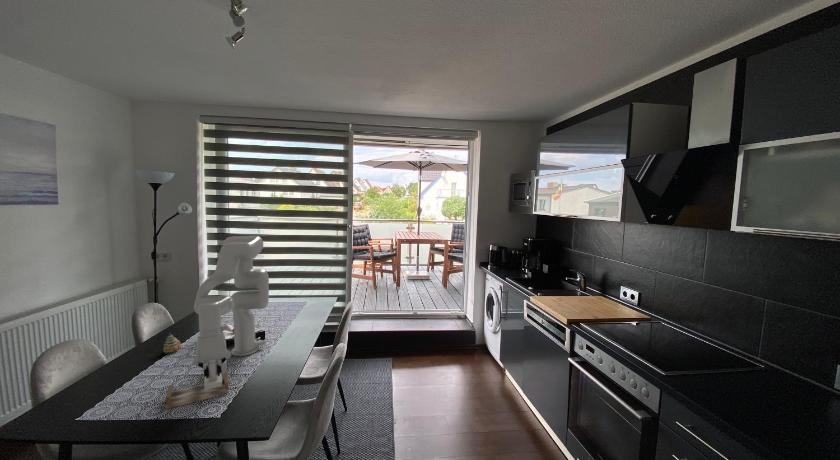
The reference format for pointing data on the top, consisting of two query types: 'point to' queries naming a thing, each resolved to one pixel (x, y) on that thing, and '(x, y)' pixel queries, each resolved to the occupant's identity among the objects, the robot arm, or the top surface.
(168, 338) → the ornament
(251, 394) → the top surface
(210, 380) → the grey pedestal
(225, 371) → the white box
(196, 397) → the brown wooden tray
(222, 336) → the robot arm
